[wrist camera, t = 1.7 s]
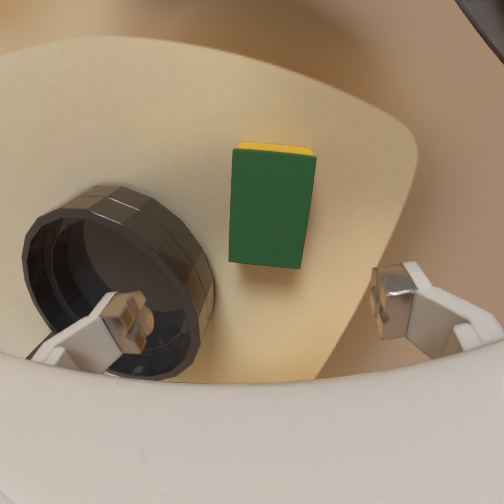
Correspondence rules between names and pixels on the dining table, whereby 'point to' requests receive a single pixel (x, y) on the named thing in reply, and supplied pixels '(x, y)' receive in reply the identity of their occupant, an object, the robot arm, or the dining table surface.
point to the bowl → (122, 273)
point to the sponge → (270, 203)
